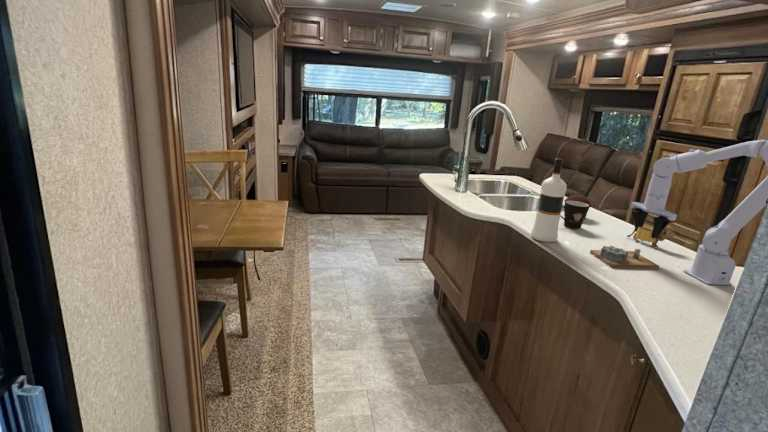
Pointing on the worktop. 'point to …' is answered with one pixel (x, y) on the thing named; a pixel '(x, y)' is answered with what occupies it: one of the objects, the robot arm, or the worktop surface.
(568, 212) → the coffee mug
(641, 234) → the ochre gear
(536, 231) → the vodka
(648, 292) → the worktop surface
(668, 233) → the lion figurine
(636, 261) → the gear board
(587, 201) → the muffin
